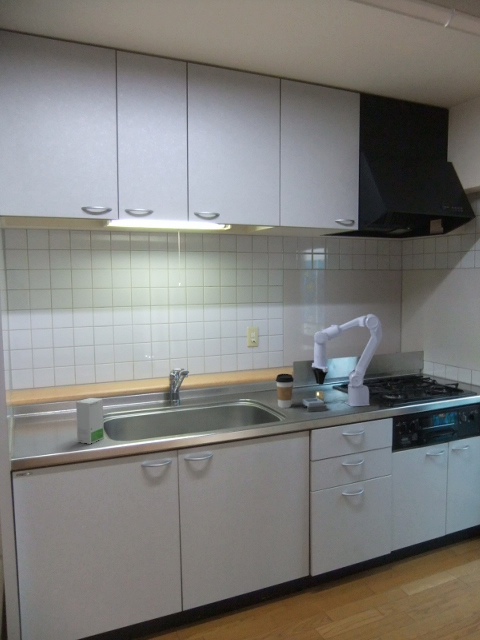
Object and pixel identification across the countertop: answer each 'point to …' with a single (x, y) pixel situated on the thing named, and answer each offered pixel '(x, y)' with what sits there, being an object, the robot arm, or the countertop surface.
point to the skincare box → (90, 420)
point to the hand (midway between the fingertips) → (319, 383)
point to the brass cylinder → (320, 395)
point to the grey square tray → (312, 402)
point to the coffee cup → (284, 390)
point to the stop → (316, 408)
